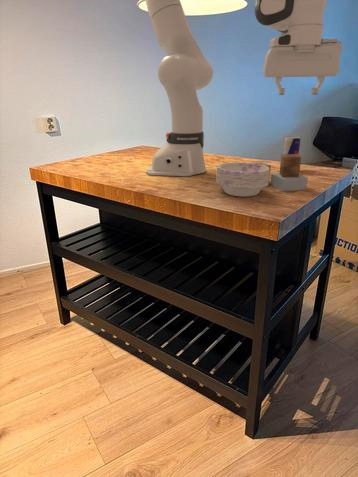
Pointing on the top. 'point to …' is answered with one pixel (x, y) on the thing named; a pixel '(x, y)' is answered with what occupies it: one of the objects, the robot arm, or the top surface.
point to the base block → (288, 182)
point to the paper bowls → (242, 178)
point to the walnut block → (290, 165)
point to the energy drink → (292, 145)
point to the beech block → (265, 165)
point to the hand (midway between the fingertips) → (297, 94)
